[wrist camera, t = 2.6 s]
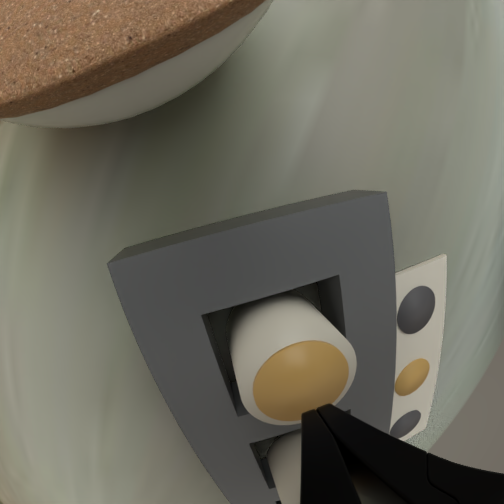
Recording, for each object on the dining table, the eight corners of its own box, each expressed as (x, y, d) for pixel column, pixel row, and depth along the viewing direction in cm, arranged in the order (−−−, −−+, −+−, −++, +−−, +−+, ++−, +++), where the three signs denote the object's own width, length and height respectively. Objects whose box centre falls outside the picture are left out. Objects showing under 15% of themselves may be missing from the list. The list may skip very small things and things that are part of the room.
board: (353, 189, 12) (386, 191, 10) (364, 480, 18) (376, 499, 16) (124, 248, 11) (106, 263, 9) (254, 518, 17) (260, 539, 15)
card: (443, 253, 14) (448, 255, 14) (424, 426, 18) (426, 429, 17) (374, 280, 14) (379, 283, 13) (373, 454, 17) (375, 457, 17)
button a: (307, 274, 12) (356, 313, 8) (319, 351, 13) (360, 404, 9) (215, 301, 12) (225, 355, 8) (238, 376, 13) (256, 441, 9)
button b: (337, 413, 13) (375, 471, 8) (340, 454, 14) (369, 504, 9) (259, 439, 12) (280, 507, 8) (274, 476, 13) (293, 533, 9)
